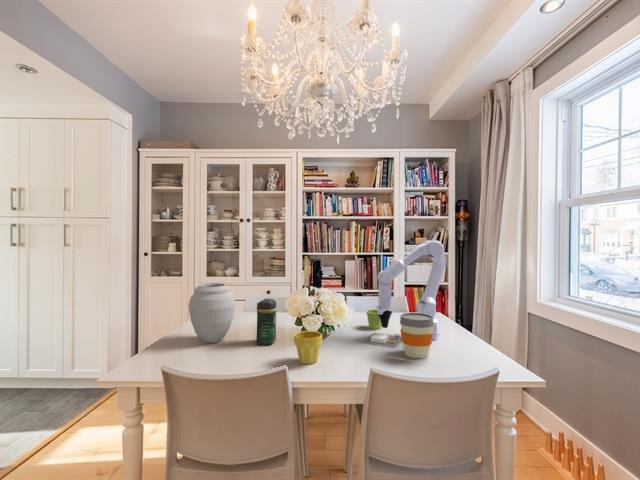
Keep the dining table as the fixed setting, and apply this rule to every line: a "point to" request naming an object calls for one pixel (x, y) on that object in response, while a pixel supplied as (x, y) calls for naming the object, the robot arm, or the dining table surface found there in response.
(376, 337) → the tile
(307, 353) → the plant pot
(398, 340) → the mat
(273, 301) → the coffee jar
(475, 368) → the dining table surface
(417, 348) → the reusable coffee cup
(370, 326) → the plant pot
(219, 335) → the vase
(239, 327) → the dining table surface
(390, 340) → the wooden plank
